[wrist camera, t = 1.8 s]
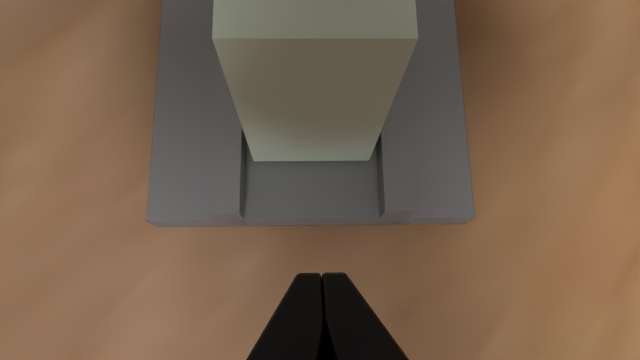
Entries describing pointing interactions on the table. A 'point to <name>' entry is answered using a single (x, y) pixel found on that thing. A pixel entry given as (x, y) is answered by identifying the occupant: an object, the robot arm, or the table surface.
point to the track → (306, 176)
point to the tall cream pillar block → (313, 72)
